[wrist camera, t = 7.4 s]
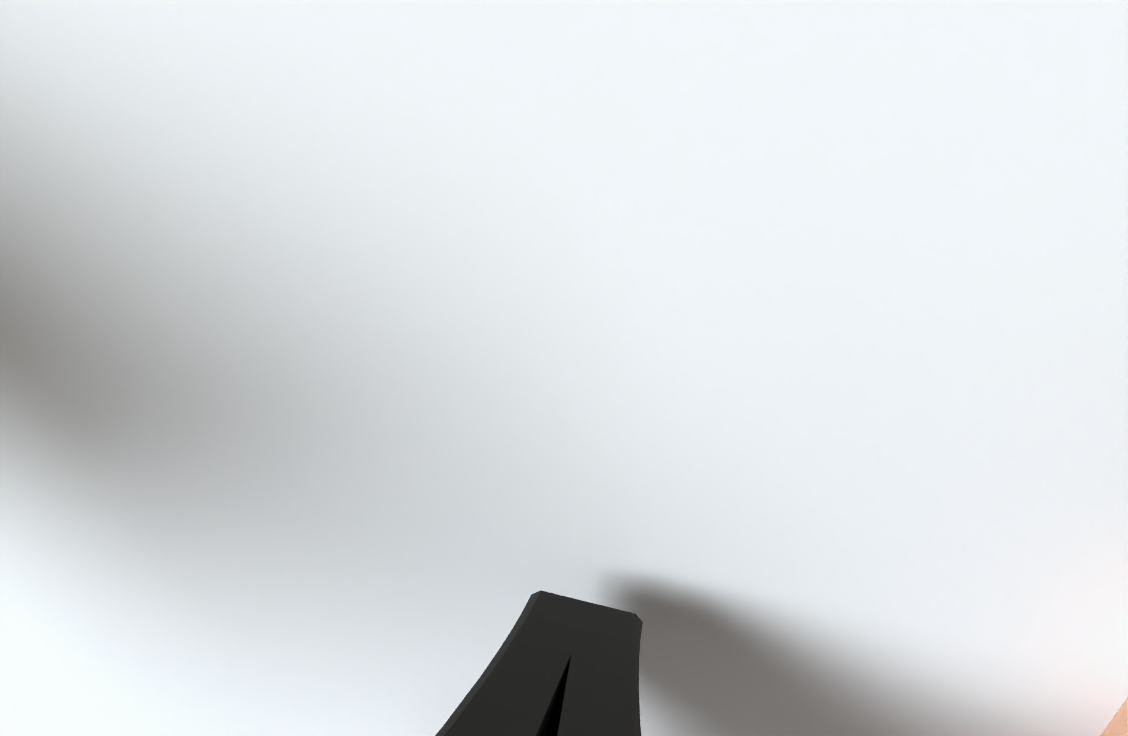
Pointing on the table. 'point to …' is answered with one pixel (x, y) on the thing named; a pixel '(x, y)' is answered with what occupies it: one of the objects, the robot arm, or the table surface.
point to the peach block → (1118, 723)
